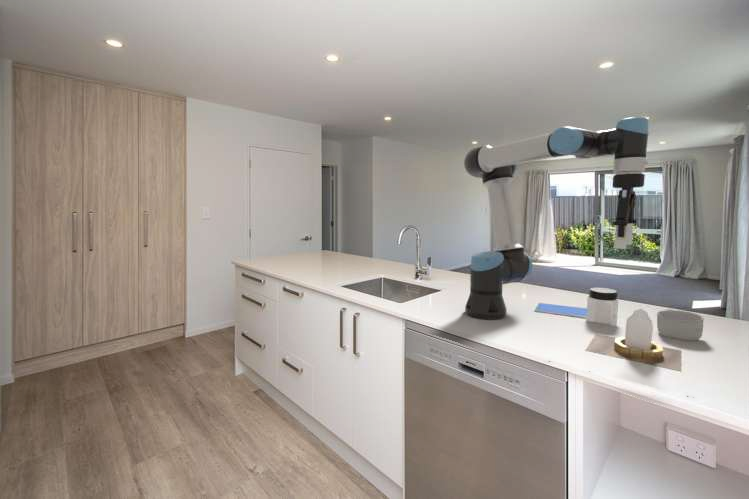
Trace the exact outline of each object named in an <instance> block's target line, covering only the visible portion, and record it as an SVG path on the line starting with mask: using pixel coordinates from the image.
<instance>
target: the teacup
mask: <svg viewBox="0 0 749 499" xmlns="http://www.w3.org/2000/svg"><path fill="white" fill-rule="evenodd" d="M656 316H657V317H656V323H657V324H656V325H657V327H656V328H657V332H658V333H659V334H660V335H662V336H663V337H667V338H670V339H674V340H679V341H688V342H694V341H695V342H696V341H698V340H700V339H701V338H702V336H703V332H704V331H703V330H704V320H705V318H704V316H702V315H701V314H698V313H695V312H691V311H685V310H674V309H672V308H668V309H666V310H665V309H664V310H659V311H658V312H656Z"/></svg>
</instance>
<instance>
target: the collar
mask: <svg viewBox="0 0 749 499" xmlns="http://www.w3.org/2000/svg"><path fill="white" fill-rule="evenodd" d="M615 338H616V339H615V342H614V349H616V350H617V351H618V352H620V353H622V354H625V355H627V356H631V357H635V358H640V359H651V360H656V359H660V358H662V353H663V347H664V346H661V344H659V343H657V342H654V341H651V349H650V350H640V349H635V348H631V347H628V346H625V336H620V337H615Z"/></svg>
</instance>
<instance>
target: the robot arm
mask: <svg viewBox="0 0 749 499" xmlns="http://www.w3.org/2000/svg"><path fill="white" fill-rule="evenodd" d="M649 135H650V134H649V120H648V118H647V117H644V116H634V117H633V116H632V117H626V118H623V119H620V120H618V121H617V122H616V126H615V128H612V129H611V128H610V129H608V130H607V129H606V130H598V131H595V130H588V129H583V128H578V127H574V126H561V127H558V128H556V130H554V131H553V132H549V133H545V134H542V135H537V136H534V137H533V136H532V137H528V138H524V139H520V140H515V141H512V142H507V143H503V144H500V145H495V146H490V145H482V146H477V147H474V148H472V149H471V150H469V151H468V152H467V153H466V155H465V158H464V160H463V161H464V162H463V164H464V169H465V172H467V174H469V175H470V176H472V177H474V178H476V179H477V178H478V179H482V185H483V187H484V188H487V193H488V199H489V208H490V214H491V221H492V227H493V234H494V241H495V248H494V249H493V250H491V251H481V252H477V253H474V254H473V255H472V256H471V258H470V264H469V268H470V270H469V271H470V272H469V273H470V275H469V277H470V278H469V281H470V283H469V284H470V285H469V286H470V289H469V291H470V292H469V295H468V298H467V301H466V304H465V306H464V308H465V310H464V311H465V312H464V313H465V314H466V316H469V317H471V318H476V319H481V320H500V319H503V318H507V311H508V310H507V306H506V303H505V300H504V297H503V285H507V284H513V283H514V284H515V283H520V282H523V281H524V280H526V279H528V278H529V276H530V275H531V273H532V270H533V261H532V258H531V256H529V255H528V254H527V253H526V252H525V248H524V246H523V245H522V244H520V243H519V242H520V241H519V237H518V236H519V235H518V229H517V223H516V217H515V210H514V203H513V197H512V189H511V184H512V182H513V181H514V177H513V176H514V175H515V173H516V170H517V168H518V167H517V166H518V165H519V164H525V163H530V162H536V161H537V162H538V161H541V160H547V159H553V158H559V157H566V156H567V157H568V156H574V158H577V159H587V160H589V159H592V158H597V157H607V156H614V159H613V169H612V170H613V171H612V172H613V174H614V175H613V176H612V188H615V189H619V191H618V194H617V198H618V199H617V210H616V217H615V220H614V221H613V222H612V226H615V236H614V237H615V238H614V248H613V249H619V250H620V249H621V250H626V249H627V246H630V245H631V246H632V243H633V242H632V241H633V232H634V231H633V230H634V224H637V219H635V204H636V199H637V193H636V191H635V190H634V188H642V187H644V186H645V177H646V176H645V175H646V174H644V172H645V171H646V165H648V164H649V161H648V160H646V158H647V150H648V149H647V148H648V138H649Z"/></svg>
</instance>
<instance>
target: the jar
mask: <svg viewBox="0 0 749 499" xmlns="http://www.w3.org/2000/svg"><path fill="white" fill-rule="evenodd" d="M586 302H587V304H586V308H587V316H586V318H585V319H586V320H585V321H586V322H591V323H597V324H602V325H607V326H613V327H614V326H615V327H616V326H617V325H618V312H619V311H618V308H619V298H618V290H615V289H612V288H608V287H607V288H606V287H591V288H589V292H588V296H587V300H586Z"/></svg>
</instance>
